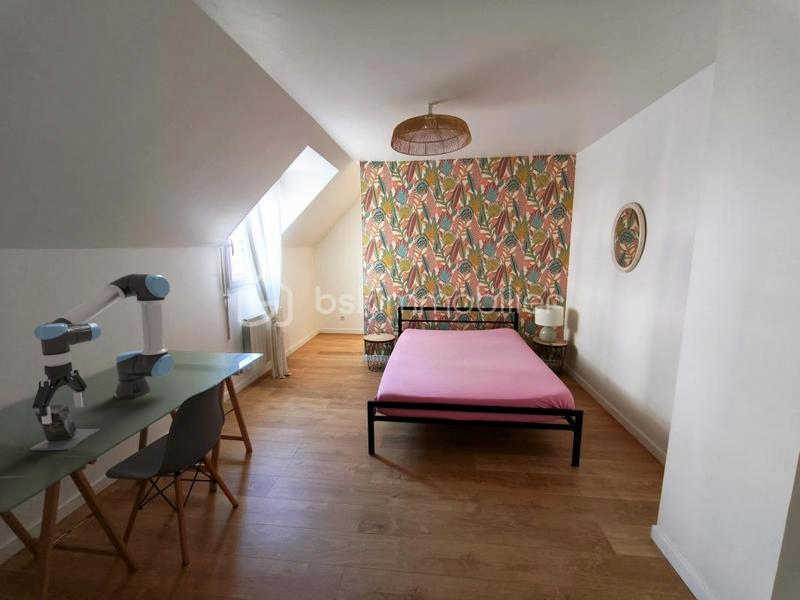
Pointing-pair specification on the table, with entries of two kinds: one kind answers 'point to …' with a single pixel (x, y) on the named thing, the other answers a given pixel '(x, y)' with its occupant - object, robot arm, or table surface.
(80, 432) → the slate pad
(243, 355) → the table surface
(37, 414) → the stone block
